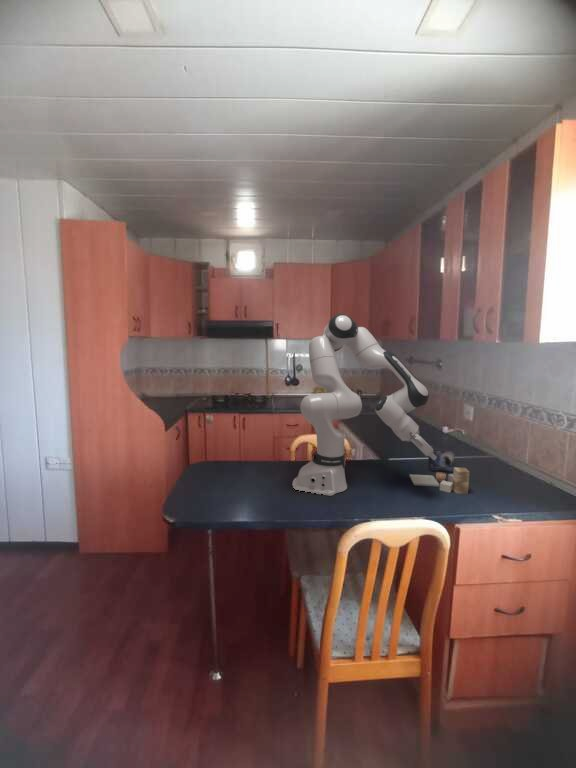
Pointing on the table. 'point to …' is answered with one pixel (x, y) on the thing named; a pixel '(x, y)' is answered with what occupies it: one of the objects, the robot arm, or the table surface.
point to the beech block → (460, 480)
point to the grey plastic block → (450, 478)
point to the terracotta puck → (440, 476)
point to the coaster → (424, 480)
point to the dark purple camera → (442, 459)
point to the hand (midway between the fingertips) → (431, 454)
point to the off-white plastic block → (446, 486)
